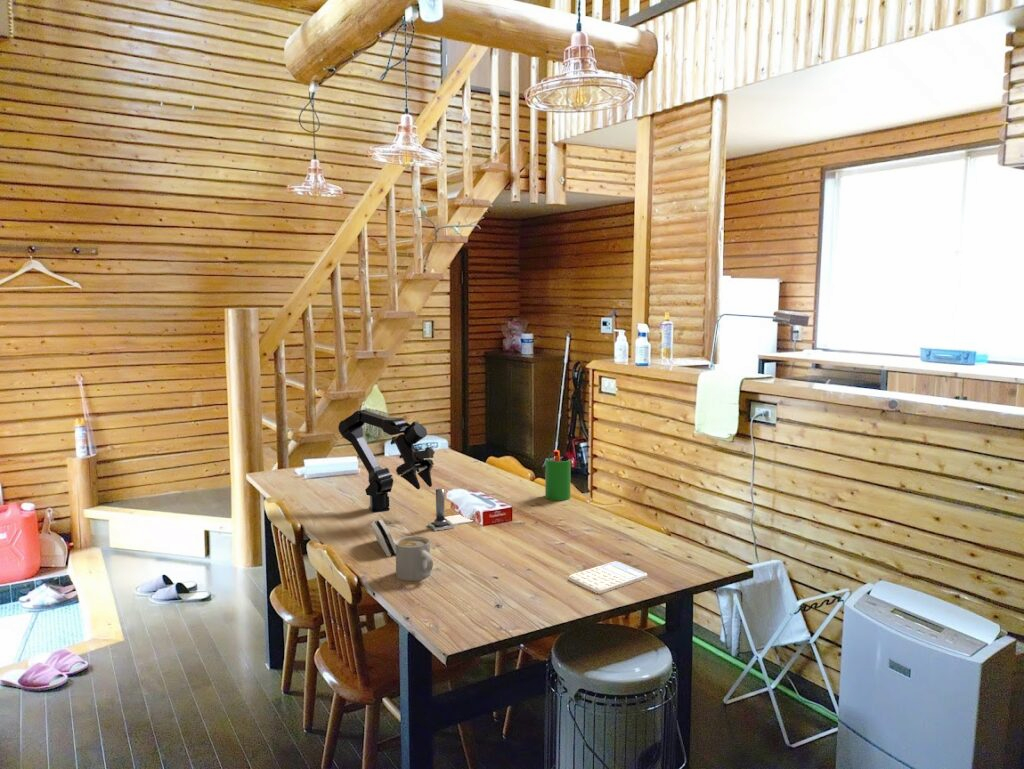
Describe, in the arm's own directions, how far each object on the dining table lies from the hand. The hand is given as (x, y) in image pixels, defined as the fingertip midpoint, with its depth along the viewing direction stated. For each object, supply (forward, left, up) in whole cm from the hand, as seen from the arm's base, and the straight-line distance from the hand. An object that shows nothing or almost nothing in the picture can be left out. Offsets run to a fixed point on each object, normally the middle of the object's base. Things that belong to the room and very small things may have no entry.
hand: (425, 487), depth 257 cm
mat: (+11, -6, -12) cm, 17 cm away
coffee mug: (-20, -48, -12) cm, 54 cm away
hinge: (-21, -21, -13) cm, 32 cm away
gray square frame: (+2, -10, -12) cm, 16 cm away
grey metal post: (+2, -10, -12) cm, 16 cm away
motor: (+58, +3, -12) cm, 59 cm away
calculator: (+29, -75, -13) cm, 81 cm away
